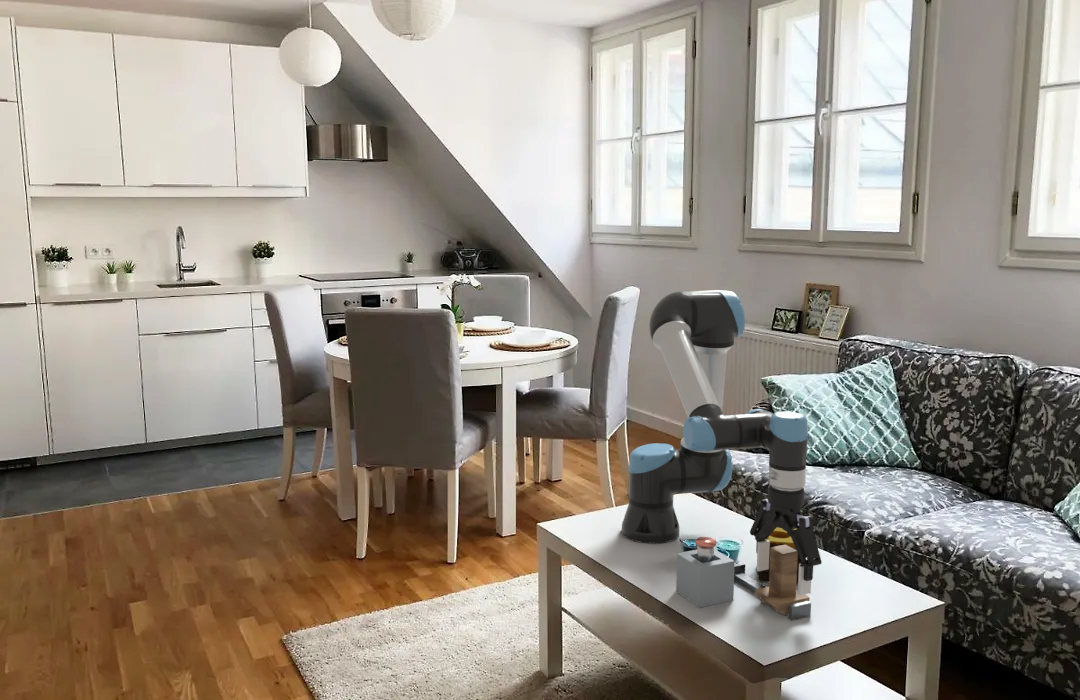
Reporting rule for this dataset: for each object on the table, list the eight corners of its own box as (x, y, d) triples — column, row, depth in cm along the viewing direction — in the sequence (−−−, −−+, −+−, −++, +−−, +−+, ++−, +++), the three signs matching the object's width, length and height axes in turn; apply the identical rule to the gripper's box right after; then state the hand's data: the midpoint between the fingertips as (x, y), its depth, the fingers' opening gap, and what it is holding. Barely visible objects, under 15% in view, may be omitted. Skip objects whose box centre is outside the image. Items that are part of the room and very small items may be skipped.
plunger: (691, 559, 197) (691, 538, 196) (707, 556, 199) (708, 535, 198) (702, 566, 193) (703, 545, 192) (719, 563, 195) (720, 542, 194)
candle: (803, 586, 202) (805, 544, 201) (758, 582, 204) (759, 541, 203) (800, 568, 212) (801, 528, 211) (756, 565, 214) (757, 525, 213)
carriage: (755, 601, 194) (756, 545, 192) (784, 595, 197) (786, 539, 195) (778, 616, 187) (781, 558, 184) (809, 609, 190) (811, 552, 188)
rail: (724, 578, 206) (725, 566, 206) (742, 575, 208) (742, 562, 208) (791, 620, 185) (792, 607, 185) (810, 616, 187) (811, 602, 187)
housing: (676, 591, 200) (676, 553, 198) (709, 584, 203) (710, 546, 202) (698, 607, 191) (699, 568, 190) (733, 600, 195) (734, 561, 194)
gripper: (735, 472, 197) (733, 563, 201) (813, 506, 175) (808, 607, 178) (763, 468, 200) (760, 557, 204) (842, 500, 178) (837, 601, 181)
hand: (782, 581), depth 191 cm, fingers open, 13 cm apart
